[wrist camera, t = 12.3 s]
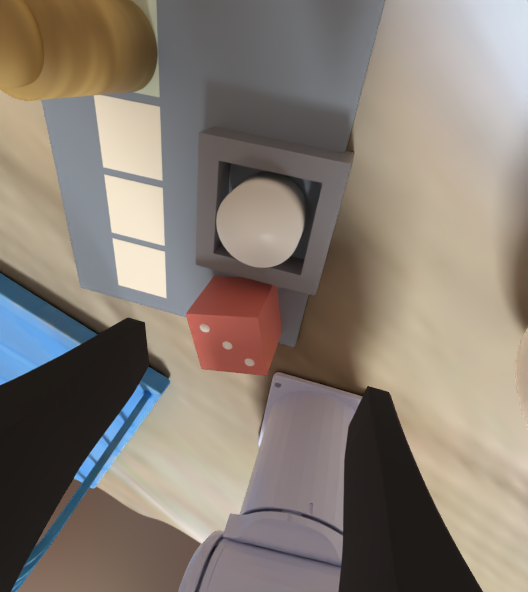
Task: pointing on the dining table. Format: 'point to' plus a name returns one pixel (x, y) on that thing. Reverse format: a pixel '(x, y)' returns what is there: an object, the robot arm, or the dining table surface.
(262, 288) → the die
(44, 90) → the tan rounded peg
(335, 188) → the dome housing
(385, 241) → the dining table surface
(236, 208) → the dome
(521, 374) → the lidded jar
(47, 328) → the file sorter
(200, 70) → the board
